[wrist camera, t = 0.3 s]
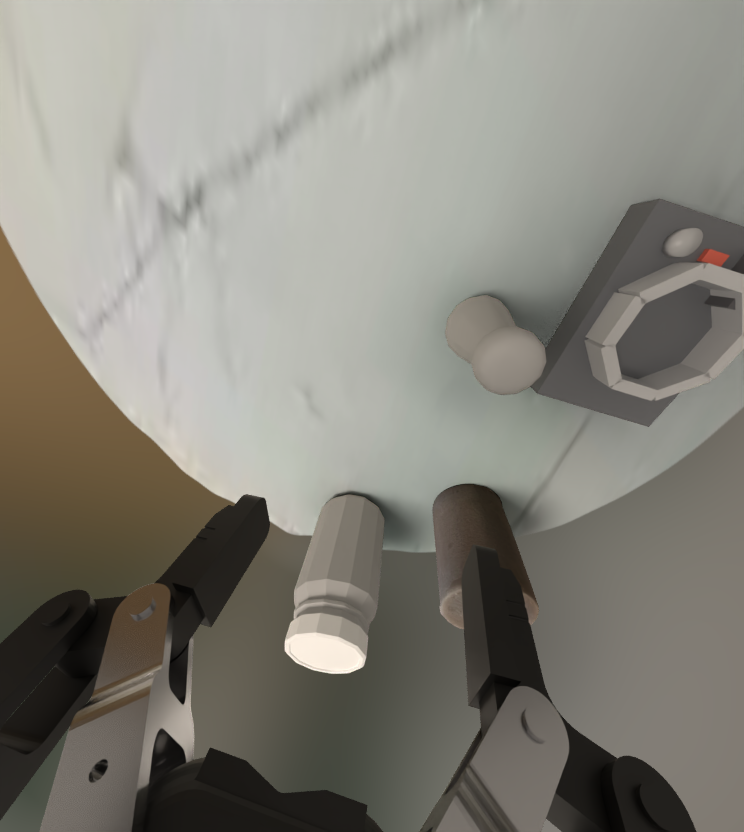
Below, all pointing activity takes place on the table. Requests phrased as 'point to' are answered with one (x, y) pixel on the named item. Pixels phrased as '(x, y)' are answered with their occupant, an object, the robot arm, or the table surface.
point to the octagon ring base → (651, 315)
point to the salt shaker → (495, 345)
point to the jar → (338, 587)
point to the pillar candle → (473, 525)
